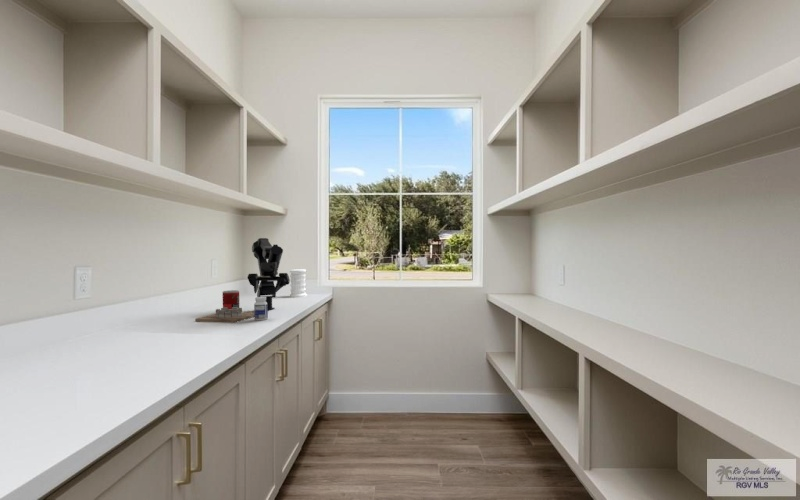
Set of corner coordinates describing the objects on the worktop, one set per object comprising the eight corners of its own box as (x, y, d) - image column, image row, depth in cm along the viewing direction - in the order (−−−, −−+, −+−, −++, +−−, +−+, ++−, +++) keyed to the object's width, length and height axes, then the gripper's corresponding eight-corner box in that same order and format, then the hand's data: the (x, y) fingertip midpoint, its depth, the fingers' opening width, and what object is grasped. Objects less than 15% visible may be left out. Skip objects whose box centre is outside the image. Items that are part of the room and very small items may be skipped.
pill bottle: (260, 318, 193) (260, 296, 193) (270, 318, 191) (270, 296, 191) (251, 320, 187) (251, 297, 187) (262, 320, 185) (261, 298, 185)
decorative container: (295, 297, 278) (295, 270, 278) (286, 296, 286) (285, 270, 286) (310, 296, 286) (310, 269, 286) (300, 295, 294) (300, 269, 294)
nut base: (223, 314, 206) (223, 305, 206) (260, 315, 201) (260, 306, 201) (195, 321, 186) (195, 311, 186) (235, 322, 182) (235, 312, 182)
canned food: (234, 314, 207) (234, 291, 207) (219, 313, 208) (219, 291, 208) (242, 311, 215) (242, 290, 215) (228, 311, 216) (227, 290, 216)
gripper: (248, 256, 200) (239, 281, 189) (287, 256, 200) (281, 280, 189) (254, 272, 208) (246, 297, 197) (292, 271, 207) (286, 296, 196)
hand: (264, 292), depth 194 cm, fingers open, 9 cm apart
